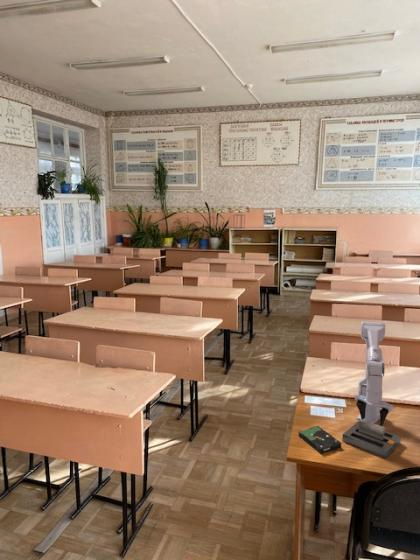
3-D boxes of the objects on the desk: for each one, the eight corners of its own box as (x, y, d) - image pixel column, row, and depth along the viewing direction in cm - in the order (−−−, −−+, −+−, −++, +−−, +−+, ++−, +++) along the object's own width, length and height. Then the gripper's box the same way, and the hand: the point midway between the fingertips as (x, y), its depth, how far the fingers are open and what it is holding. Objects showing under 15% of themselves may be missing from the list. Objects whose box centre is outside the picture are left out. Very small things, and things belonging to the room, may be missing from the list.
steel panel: (359, 434, 177) (360, 419, 176) (384, 443, 170) (385, 427, 169) (358, 436, 176) (359, 420, 175) (382, 445, 169) (383, 429, 168)
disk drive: (341, 449, 170) (317, 431, 183) (342, 442, 169) (317, 425, 183) (320, 455, 166) (297, 436, 179) (321, 449, 165) (297, 430, 178)
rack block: (357, 427, 184) (357, 420, 184) (400, 443, 172) (400, 436, 171) (342, 441, 174) (342, 433, 174) (386, 458, 162) (387, 450, 161)
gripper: (352, 388, 171) (350, 419, 174) (388, 399, 161) (386, 432, 164) (359, 382, 176) (358, 413, 179) (395, 392, 166) (393, 425, 169)
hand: (372, 421), depth 172 cm, fingers open, 7 cm apart
